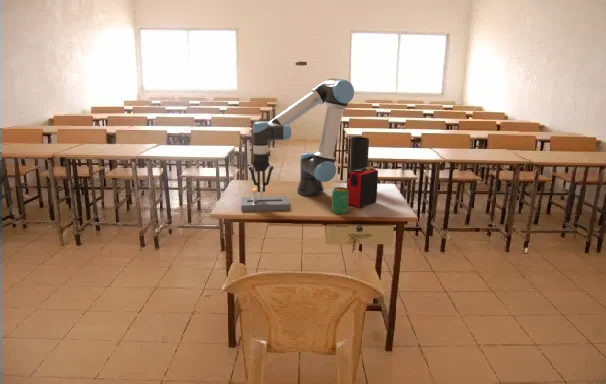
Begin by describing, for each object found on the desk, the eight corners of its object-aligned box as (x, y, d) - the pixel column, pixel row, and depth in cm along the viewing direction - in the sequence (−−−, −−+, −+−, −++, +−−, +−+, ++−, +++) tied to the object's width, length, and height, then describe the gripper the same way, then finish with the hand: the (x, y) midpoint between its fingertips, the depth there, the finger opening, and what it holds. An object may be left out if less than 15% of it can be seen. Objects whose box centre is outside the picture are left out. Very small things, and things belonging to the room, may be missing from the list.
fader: (257, 203, 239) (256, 187, 237) (257, 206, 234) (256, 190, 232) (253, 203, 239) (252, 187, 237) (253, 206, 234) (252, 190, 232)
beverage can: (342, 208, 234) (343, 186, 231) (350, 213, 228) (351, 190, 224) (328, 210, 231) (329, 187, 228) (337, 215, 224) (337, 192, 221)
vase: (367, 191, 266) (370, 140, 257) (350, 191, 266) (352, 140, 257) (365, 186, 276) (367, 137, 267) (348, 186, 275) (350, 137, 267)
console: (286, 201, 245) (286, 195, 245) (289, 209, 232) (289, 203, 231) (241, 202, 243) (241, 197, 242) (241, 211, 229) (241, 205, 228)
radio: (362, 198, 252) (364, 162, 247) (377, 202, 245) (379, 166, 240) (344, 204, 241) (345, 167, 236) (359, 208, 235) (360, 170, 229)
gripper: (273, 151, 234) (273, 195, 240) (247, 151, 232) (248, 196, 239) (274, 154, 227) (274, 199, 233) (247, 154, 225) (248, 200, 231)
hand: (261, 197), depth 236 cm, fingers closed
